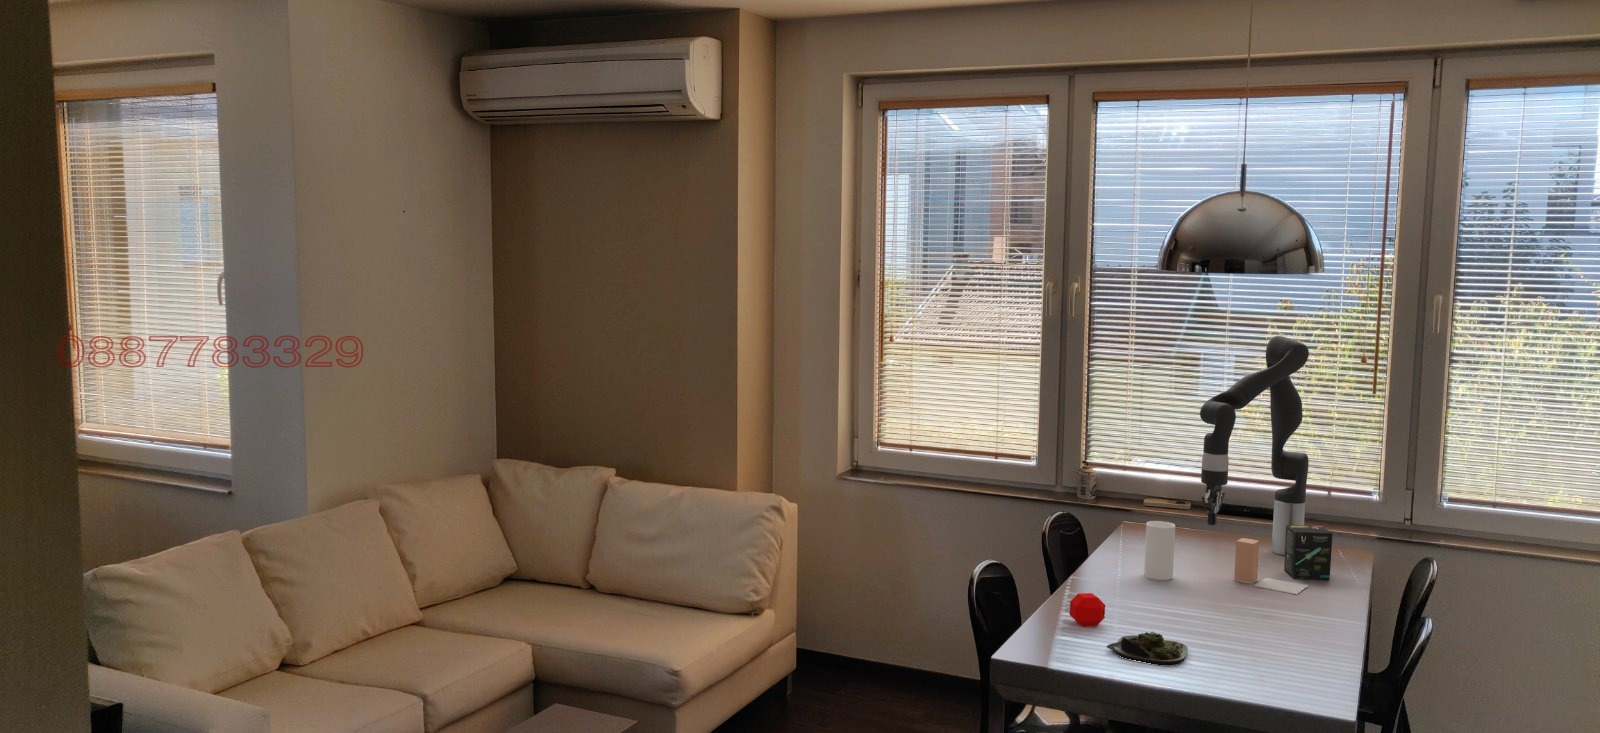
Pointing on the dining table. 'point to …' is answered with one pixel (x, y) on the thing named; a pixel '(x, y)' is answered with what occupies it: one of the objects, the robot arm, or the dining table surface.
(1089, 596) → the ball
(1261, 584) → the mat
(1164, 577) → the cup
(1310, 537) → the tampon box
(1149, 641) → the salad plate
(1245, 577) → the block
